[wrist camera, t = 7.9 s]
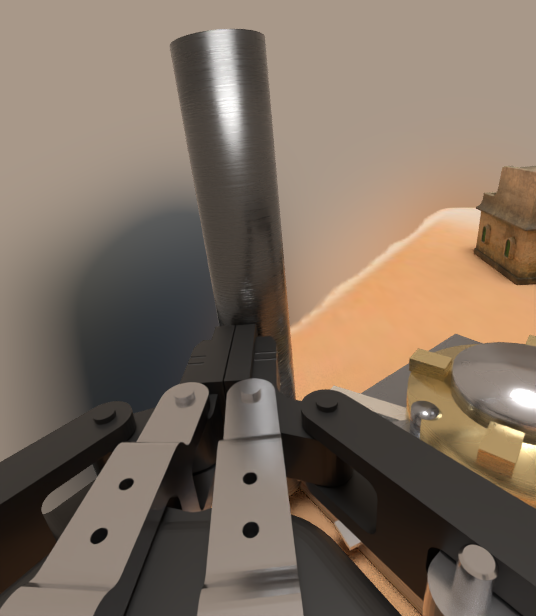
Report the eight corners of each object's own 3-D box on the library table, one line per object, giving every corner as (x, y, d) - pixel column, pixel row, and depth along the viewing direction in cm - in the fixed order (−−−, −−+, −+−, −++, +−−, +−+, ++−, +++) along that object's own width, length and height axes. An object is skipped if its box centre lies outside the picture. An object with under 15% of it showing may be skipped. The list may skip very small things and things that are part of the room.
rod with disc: (534, 376, 23) (622, 28, 16) (723, 528, 14) (1151, -128, 6) (245, 411, 23) (191, 75, 15) (248, 590, 14) (117, -20, 6)
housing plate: (435, 339, 31) (437, 325, 30) (776, 471, 17) (791, 449, 17) (248, 454, 22) (245, 436, 21) (667, 923, 8) (692, 910, 8)
